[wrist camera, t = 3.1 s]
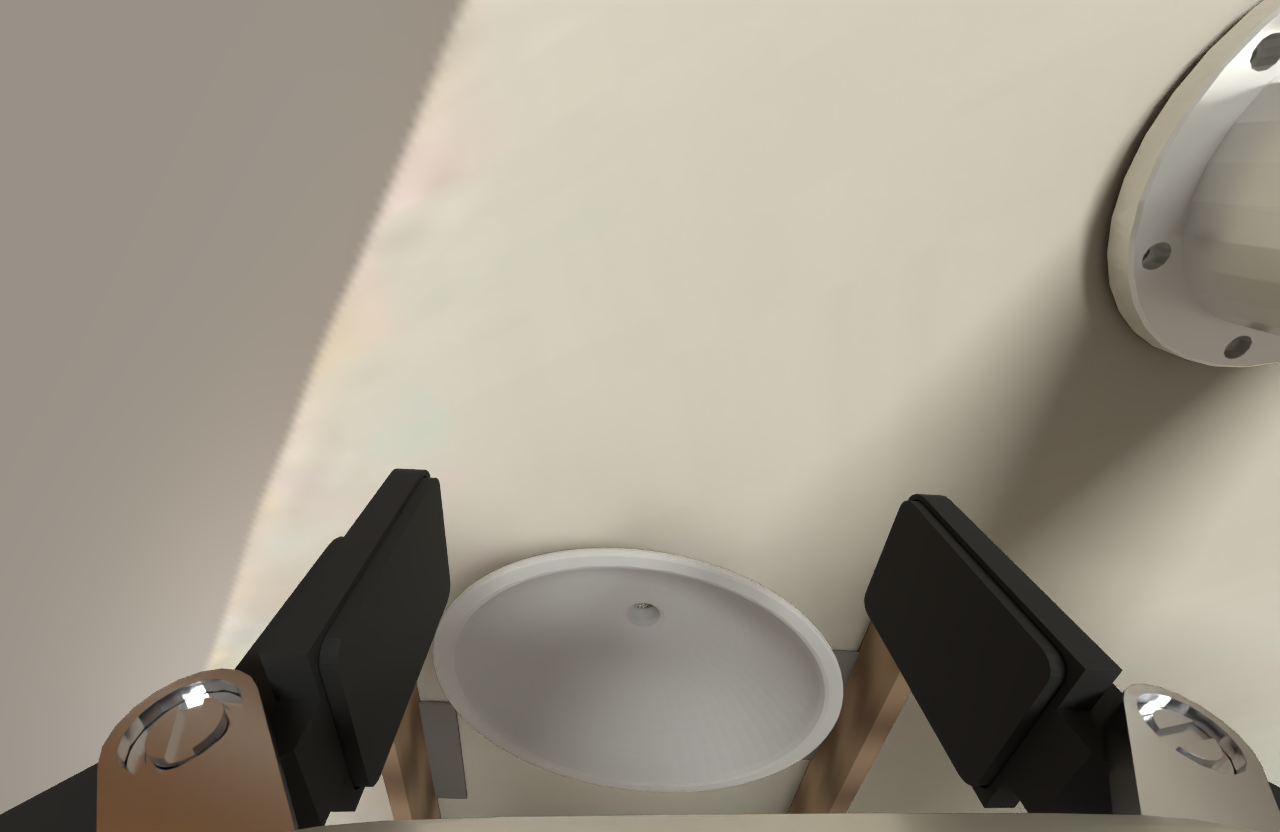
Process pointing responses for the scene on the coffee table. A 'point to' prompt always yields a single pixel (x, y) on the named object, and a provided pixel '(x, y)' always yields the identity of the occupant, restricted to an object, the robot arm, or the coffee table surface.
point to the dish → (638, 670)
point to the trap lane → (836, 770)
